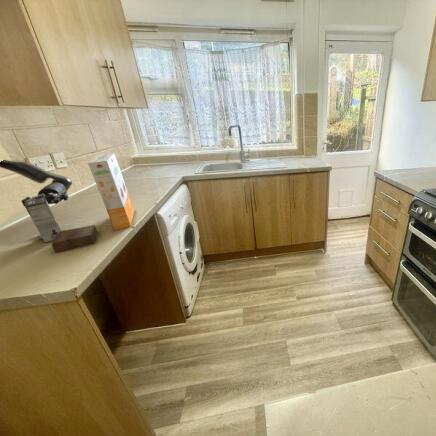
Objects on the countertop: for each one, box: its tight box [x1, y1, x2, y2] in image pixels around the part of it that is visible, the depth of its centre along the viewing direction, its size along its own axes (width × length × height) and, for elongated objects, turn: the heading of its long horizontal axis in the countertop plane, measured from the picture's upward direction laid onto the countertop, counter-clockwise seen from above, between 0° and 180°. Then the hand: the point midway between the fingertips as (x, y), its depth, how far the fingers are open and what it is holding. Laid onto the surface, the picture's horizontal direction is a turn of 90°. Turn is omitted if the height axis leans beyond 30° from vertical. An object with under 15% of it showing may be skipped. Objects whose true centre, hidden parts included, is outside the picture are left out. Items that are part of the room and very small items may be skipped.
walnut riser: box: [51, 224, 99, 254], centre depth 98 cm, size 12×12×4 cm
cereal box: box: [87, 152, 135, 230], centre depth 112 cm, size 22×6×30 cm, turn 27°
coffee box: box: [24, 197, 63, 243], centre depth 100 cm, size 9×6×16 cm
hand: (41, 203), depth 101 cm, fingers open, 8 cm apart
